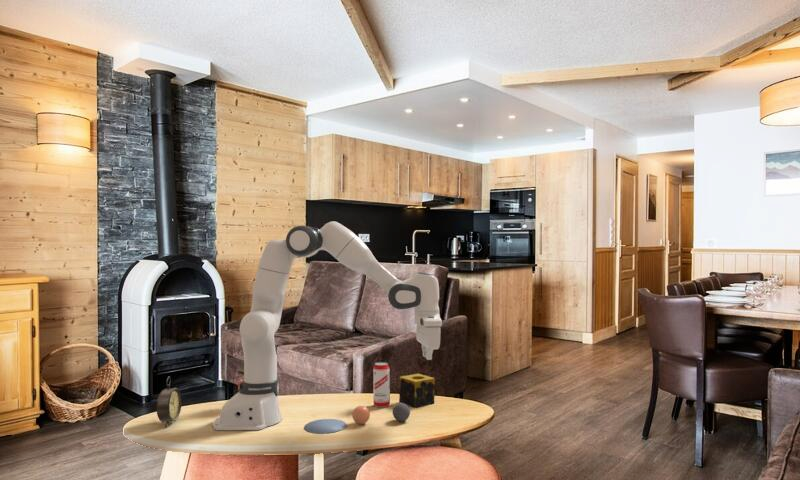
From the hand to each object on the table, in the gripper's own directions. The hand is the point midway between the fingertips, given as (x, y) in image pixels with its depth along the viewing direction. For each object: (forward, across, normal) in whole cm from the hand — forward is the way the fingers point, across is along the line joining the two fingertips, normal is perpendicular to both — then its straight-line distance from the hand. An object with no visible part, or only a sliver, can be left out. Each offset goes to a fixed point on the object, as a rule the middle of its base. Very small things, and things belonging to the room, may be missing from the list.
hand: (427, 358), depth 173 cm
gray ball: (+18, 0, -9) cm, 20 cm away
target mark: (+21, 0, -35) cm, 41 cm away
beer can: (+21, -19, -13) cm, 32 cm away
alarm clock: (+21, -14, -88) cm, 92 cm away
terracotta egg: (+18, 0, -23) cm, 30 cm away
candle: (+21, -20, +1) cm, 29 cm away
